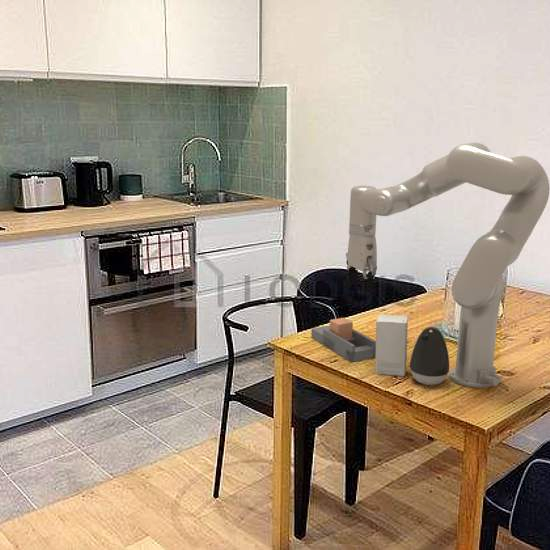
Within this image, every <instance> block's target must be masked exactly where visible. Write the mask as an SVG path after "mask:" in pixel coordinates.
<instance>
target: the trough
mask: <svg viewBox="0 0 550 550" xmlns="http://www.w3.org/2000/svg"><path fill="white" fill-rule="evenodd" d="M310 334H311V339H313V340H315V341H317V342H318V343H319V344H321V345H323V346H324V347H326V348H328V349H329V350H330V351H332V352H334V353H335V354H337V355H338V356H341V357H342V358H343V359H345V360H347V361H348V362H350V363H356V362H360V361H366V360H371V359H376V339H372V338H371V337H370V336H367V335H365V334H363V333H361V332H360V331H358V330H356V329H354V328H353V330H352V338H350V339H343V338H341V337H339V336H338V335H336V334H334V333H333V332H331V331H330V324H329V325H324V326H320V327H313V328H311V333H310Z"/></svg>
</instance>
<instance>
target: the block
mask: <svg viewBox="0 0 550 550" xmlns="http://www.w3.org/2000/svg"><path fill="white" fill-rule="evenodd" d="M329 325H330V331H331V332H333V333H334V334H336V335H338V336H339V337H341V338H343V339H350V338H352V330H353V329H354V327H353V326H354V324H353V321H351V320H349V319H347V318H345V317H340V318H334V319H330V320H329Z"/></svg>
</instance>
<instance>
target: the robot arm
mask: <svg viewBox="0 0 550 550" xmlns="http://www.w3.org/2000/svg"><path fill="white" fill-rule="evenodd" d="M465 183H468V184H470V185H473V186H476V187H479V188H482V189H485V190H489V191H490V192H494V193H497V194H501V195H505V196H507V195H509V196H511V197H510V199H508V202H507V203H506V205H505V206H504V208H503V210H502V212H501V213H500V215H499V217H498V219H497V220H496V223H494V226H493V227H492V228H491V230H490V231H488V232H487V233H485V234H483V235H481V236H480V237H479V238H478V239H477V240H476V241H475V242H474V243H473V245H472V246H471V247H470V249H469V251H468V253H467V254H466V256H465V258H464V260H463V262H462V263H461V265H460V267H459V268H458V271H457V273H456V275H455V276H454V279H453V281H452V282H451V295H452V298H453V300H454V302H455V303H456V304H457V305H458V306H460V312H459V321H458V322H459V323H458V324H459V325H458V332H457V333H458V334H457V335H458V336H457V347H456V348H457V349H456V360H455V367H452V368H451V369H449V372H448V377H449V378H450V380H451V381H453V382H454V383H456V384H459V385H461V386H465V387H469V388H475V389H476V388H478V389H479V388H480V389H485V388H490V387H495V386H498V385H499V383H500V382H501V381H502V379H503V377H502V376H501V375H499V374H496V373H497V367H496V366H494V360H495V349H496V340H497V339H496V338H497V330H498V320H499V313H500V308H501V307H500V306H501V300H502V296H503V291H504V278H503V275H504V274H505V271H506V270H507V269H508V267H509V266H510V265H512V264H514V263H515V262H516V261H517V259H518V258H519V256H520V254H521V252H522V250H523V248H524V246H525V245H526V243H527V241H528V240H529V238H530V237H531V234H532V233H533V231H534V229H535V228H536V225H537V223H538V221H540V218H541V217H542V215H543V212H544V211H545V208H546V207H547V204H548V200H549V197H550V181H549V177H548V174H547V172H546V170H545V168H544V167H543V166H542V165H541V163H540V162H538V160H537V159H534V158H533V157H530V156H526V155H520V156H519V155H518V156H514V157H508V156H504V155H501V154H497V153H494V152H491V150H490V149H489V148H488V147H487V145H485V144H484V143H480V142H468V143H461V144H458V145H456V146H455V147H454V148H453V149H451V151H450V152H449V154H446V155H445V156H442V157H440V158H437V159H436V160H434V161H432V162H429V163H427V164H426V165H424V166H423V168H422V170H421V172H419V173H418V174H416V175H415V176H412V177H411V178H409V179H407V180H405V181H403V182H401V183H399V184H397V185H393V186H392V185H391V186H388V187H384V188H378V189H377V188H376V187H375V186H371V185H355V186H353V187H352V188H351V189H350V195H349V197H350V199H349V201H350V203H349V225H348V228H349V229H348V235H349V237H348V243H347V244H348V245H347V252H346V253H345V257H346V258H345V259H346V265H347V267H346V270H347V273H346V275H347V276H346V283H347V284H348V285H352V284H357V283H358V277H359V275H358V273H359V271H361V272H362V275H363V278H362V289H361V291H362V293H365V294H366V293H372V292H374V279H375V276H376V274H377V270H378V266H377V265H378V264H377V263H378V262H377V261H378V251H377V250H378V249H377V248H378V247H377V237H376V231H377V230H376V229H377V216H380V217H388V216H393V215H395V214H398V213H401V212H405V211H407V210H410V209H411V208H414V207H415V206H417V205H419V204H421V203H424V202H427V201H428V200H430V199H432V198H435V197H438V196H440V195H442V194H444V193H446V192H449V191H451V190H453V189H454V188H457V187H459V186H461V185H463V184H465Z"/></svg>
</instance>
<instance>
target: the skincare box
mask: <svg viewBox="0 0 550 550" xmlns="http://www.w3.org/2000/svg"><path fill="white" fill-rule="evenodd" d="M408 320H409V315H402V314H401V315H400V314H398V315H396V314H385V313H384V314H383V313H379V314H378V316H377V318H376V321H375V341H376V358H375V360H374V361H375V367H374V368H375V374H376V375H387V376H399V377H405V375H406V371H407V360H408V359H407V358H408V357H407V356H408V329H409V327H408V326H409V325H408V324H409V323H408V322H409V321H408Z"/></svg>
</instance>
